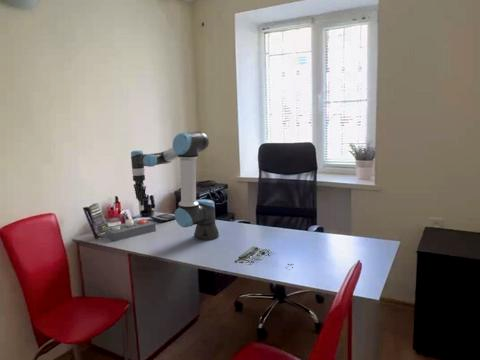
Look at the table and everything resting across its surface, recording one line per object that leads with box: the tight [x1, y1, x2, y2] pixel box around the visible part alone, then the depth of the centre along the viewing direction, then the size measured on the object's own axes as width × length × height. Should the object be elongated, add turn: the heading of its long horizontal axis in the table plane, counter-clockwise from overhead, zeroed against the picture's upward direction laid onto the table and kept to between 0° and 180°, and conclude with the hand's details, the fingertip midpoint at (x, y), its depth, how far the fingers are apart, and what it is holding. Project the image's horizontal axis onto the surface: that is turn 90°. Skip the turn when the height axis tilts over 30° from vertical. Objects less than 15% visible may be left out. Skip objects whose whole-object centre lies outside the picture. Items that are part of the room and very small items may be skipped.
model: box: [234, 245, 273, 266], centre depth 193 cm, size 21×30×2 cm
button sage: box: [112, 225, 120, 231], centre depth 236 cm, size 5×5×4 cm
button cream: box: [124, 218, 134, 228], centre depth 242 cm, size 5×5×4 cm
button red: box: [138, 219, 147, 225], centre depth 248 cm, size 5×5×4 cm
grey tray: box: [103, 218, 157, 242], centre depth 242 cm, size 16×28×5 cm, turn 132°
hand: (141, 210), depth 246 cm, fingers closed
